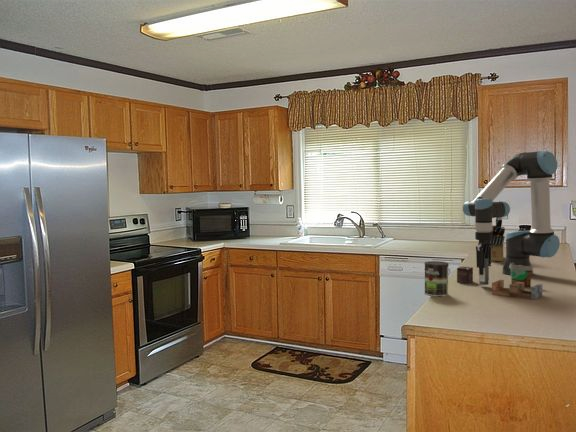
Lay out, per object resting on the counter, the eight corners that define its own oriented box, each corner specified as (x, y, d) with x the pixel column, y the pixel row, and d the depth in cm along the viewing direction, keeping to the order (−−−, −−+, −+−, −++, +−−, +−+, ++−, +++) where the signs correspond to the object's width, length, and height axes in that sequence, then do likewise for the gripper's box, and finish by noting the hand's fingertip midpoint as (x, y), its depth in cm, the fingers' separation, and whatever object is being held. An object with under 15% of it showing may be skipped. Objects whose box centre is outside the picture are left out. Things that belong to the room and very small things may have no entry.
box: (461, 280, 264) (461, 266, 263) (473, 281, 260) (473, 267, 260) (456, 282, 259) (456, 267, 259) (468, 283, 255) (468, 268, 255)
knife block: (486, 263, 317) (486, 212, 315) (478, 255, 351) (479, 209, 349) (506, 263, 314) (506, 212, 313) (496, 256, 349) (497, 209, 347)
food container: (503, 283, 254) (503, 263, 254) (512, 282, 256) (513, 262, 256) (522, 288, 243) (522, 266, 242) (532, 287, 245) (533, 266, 244)
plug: (481, 282, 249) (481, 257, 249) (489, 283, 247) (489, 258, 246) (478, 284, 246) (478, 259, 246) (486, 285, 244) (486, 259, 243)
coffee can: (441, 297, 225) (441, 265, 224) (420, 294, 232) (420, 263, 232) (452, 294, 232) (452, 262, 232) (432, 290, 240) (432, 260, 239)
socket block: (500, 290, 238) (500, 279, 238) (542, 295, 226) (542, 284, 226) (491, 294, 231) (492, 282, 230) (535, 299, 219) (535, 287, 218)
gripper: (482, 229, 254) (483, 276, 255) (468, 232, 241) (468, 282, 243) (498, 230, 249) (498, 278, 250) (484, 233, 236) (484, 284, 238)
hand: (483, 280), depth 246 cm, fingers closed on plug, 4 cm apart
